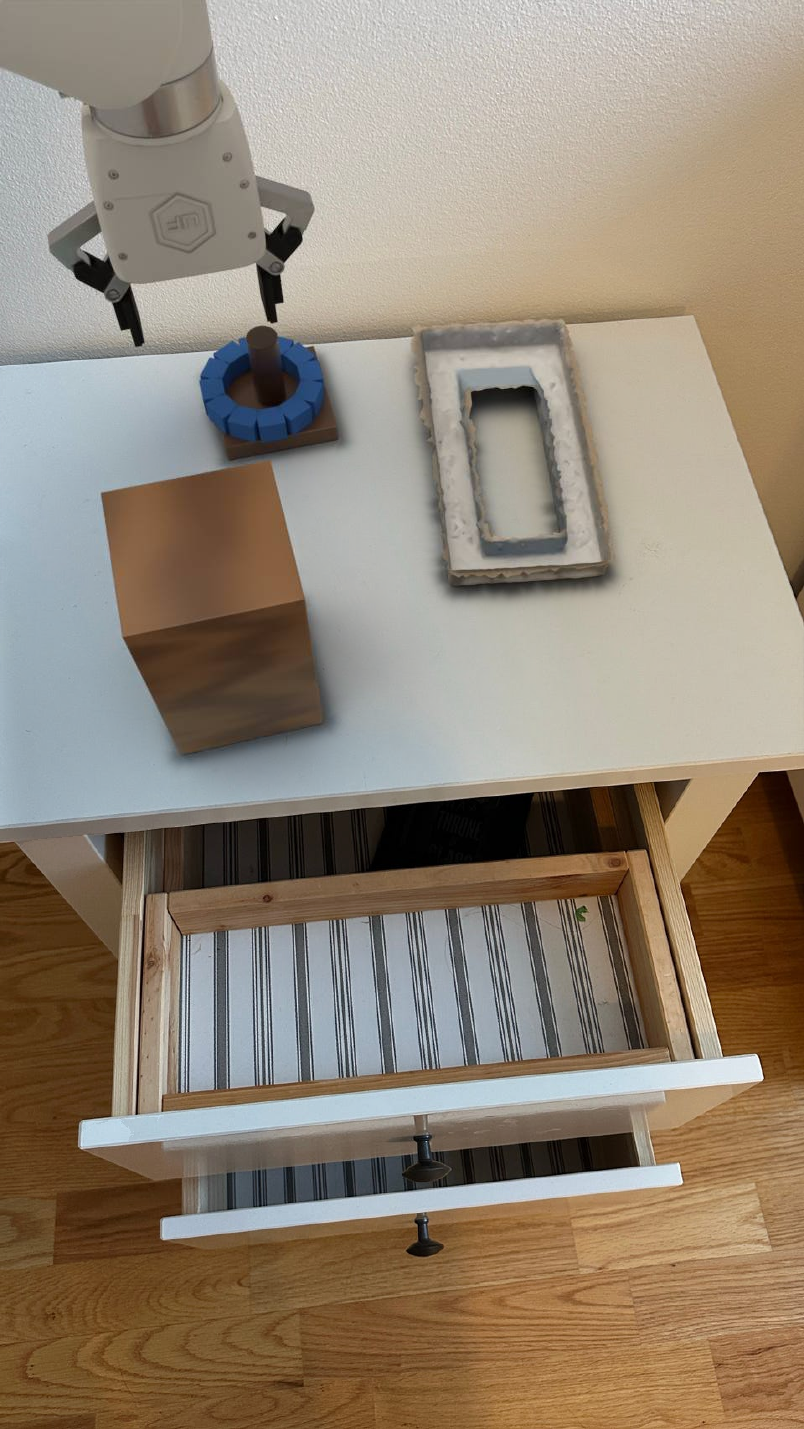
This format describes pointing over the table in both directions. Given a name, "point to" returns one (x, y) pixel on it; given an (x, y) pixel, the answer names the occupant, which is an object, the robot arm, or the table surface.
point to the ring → (268, 420)
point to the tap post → (273, 397)
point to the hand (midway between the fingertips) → (204, 321)
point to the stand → (214, 605)
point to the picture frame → (547, 364)
